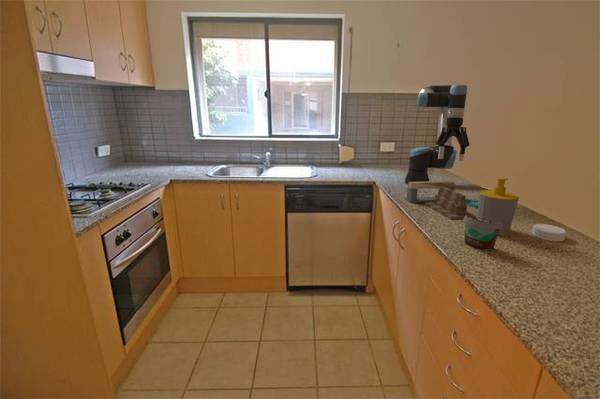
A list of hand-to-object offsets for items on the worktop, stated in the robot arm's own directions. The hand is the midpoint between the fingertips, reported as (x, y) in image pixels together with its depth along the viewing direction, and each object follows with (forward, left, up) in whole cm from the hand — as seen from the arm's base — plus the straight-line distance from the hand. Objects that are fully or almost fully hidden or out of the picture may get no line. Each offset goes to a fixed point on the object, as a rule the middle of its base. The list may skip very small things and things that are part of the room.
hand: (449, 159), depth 160 cm
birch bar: (+1, -9, -14) cm, 17 cm away
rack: (+1, -9, -21) cm, 23 cm away
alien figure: (+12, +16, -22) cm, 30 cm away
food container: (+57, -22, -22) cm, 65 cm away
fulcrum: (+19, -9, -21) cm, 30 cm away
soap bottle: (+43, -5, -22) cm, 48 cm away
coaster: (+52, +11, -22) cm, 57 cm away
